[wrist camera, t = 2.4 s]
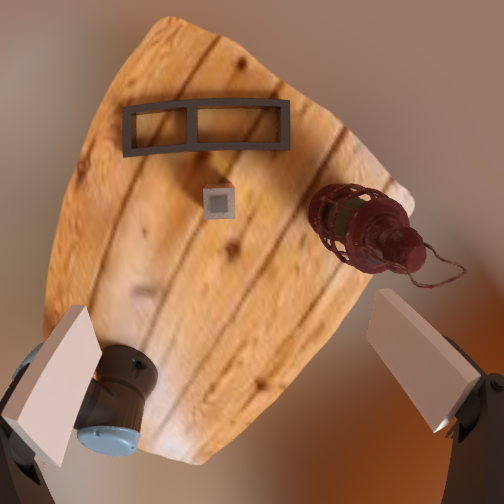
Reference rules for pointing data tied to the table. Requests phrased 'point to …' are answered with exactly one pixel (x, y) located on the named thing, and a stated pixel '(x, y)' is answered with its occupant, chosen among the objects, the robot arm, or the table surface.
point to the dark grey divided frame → (192, 125)
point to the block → (219, 201)
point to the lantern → (370, 231)
